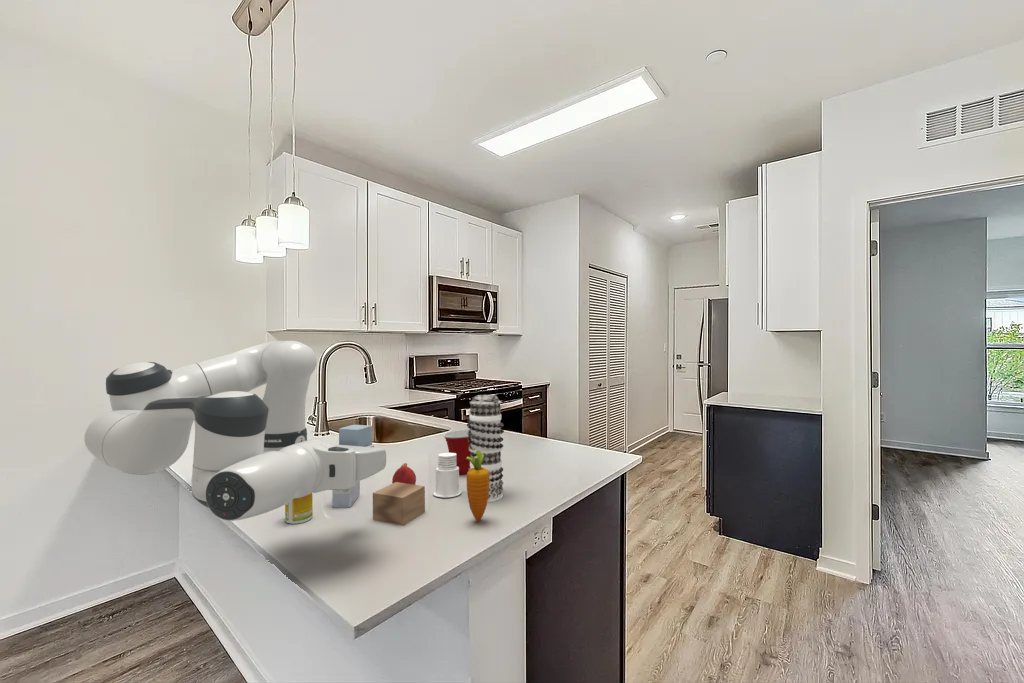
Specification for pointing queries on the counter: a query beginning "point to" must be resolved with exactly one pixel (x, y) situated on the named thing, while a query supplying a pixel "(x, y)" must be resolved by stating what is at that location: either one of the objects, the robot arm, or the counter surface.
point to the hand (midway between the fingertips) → (358, 448)
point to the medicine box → (345, 496)
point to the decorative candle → (487, 439)
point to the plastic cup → (459, 448)
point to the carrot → (477, 486)
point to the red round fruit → (404, 475)
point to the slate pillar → (355, 435)
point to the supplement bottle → (299, 510)
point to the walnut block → (398, 503)
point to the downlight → (447, 476)
